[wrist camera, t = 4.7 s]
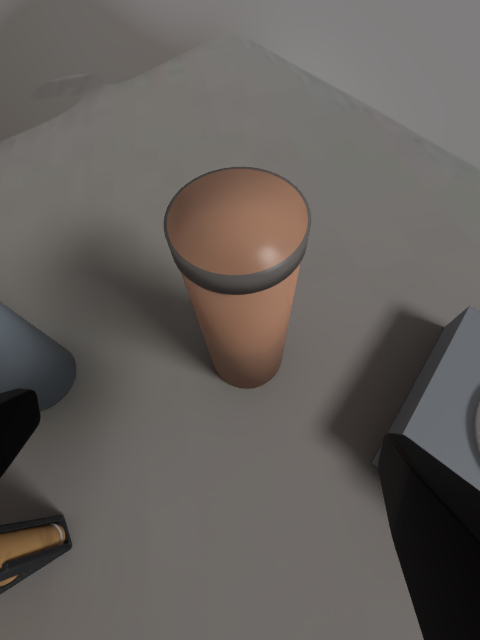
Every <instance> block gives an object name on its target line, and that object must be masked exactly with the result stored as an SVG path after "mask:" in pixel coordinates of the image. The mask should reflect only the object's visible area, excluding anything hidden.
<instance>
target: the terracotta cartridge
mask: <svg viewBox="0 0 480 640" xmlns="http://www.w3.org/2000/svg"><path fill="white" fill-rule="evenodd" d="M310 227H311V213H310V209H309V205H308V203H307V201H306V199H305V197H304V196H303V194H302V193H301V192H300V190H299V189H298V188H297V187H296V186H295V185H293V184H292V183H291V182H290V181H288V180H287V179H285V178H284V177H282V176H280V175H277V174H275V173H273V172H270V171H267V170H263V169H258V168H252V167H231V168H223V169H219V170H215V171H211V172H208V173H206V174H203V175H201V176H199V177H197V178H195V179H193V180H192V181H190V182H189V183H187V184H186V185H185V186H184V187H182V188H181V189H180V190H179V191H178V192H177V193H176V195H175V196H174V197H173V199H172V200H171V202H170V203H169V205H168V207H167V210H166V213H165V217H164V232H165V237H166V240H167V243H168V245H169V248H170V251H171V254H172V256H173V259H174V262H175V263H176V265H177V267H178V269H179V270H180V271H181V274H182V276H183V279H184V282H185V285H186V288H187V291H188V293H189V296H190V299H191V302H192V305H193V308H194V311H195V313H196V316H197V319H198V322H199V325H200V328H201V330H202V333H203V336H204V339H205V342H206V345H207V348H208V350H209V353H210V356H211V359H212V362H213V365H214V367H215V370H216V372H217V373H218V375H219V376H220V377H221V378H222V379H223V380H224V381H225V382H227V383H228V384H230V385H232V386H235V387H238V388H245V389H249V388H255V387H259V386H261V385H263V384H265V383H267V382H268V381H270V380H271V379H272V378H273V377H274V376H275V374H276V373H277V371H278V369H279V367H280V364H281V359H282V354H283V349H284V344H285V339H286V334H287V329H288V324H289V318H290V313H291V308H292V303H293V298H294V293H295V288H296V283H297V277H298V272H299V267H300V262H301V261H302V258H303V256H304V254H305V250H306V246H307V241H308V236H309V232H310Z"/></svg>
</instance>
